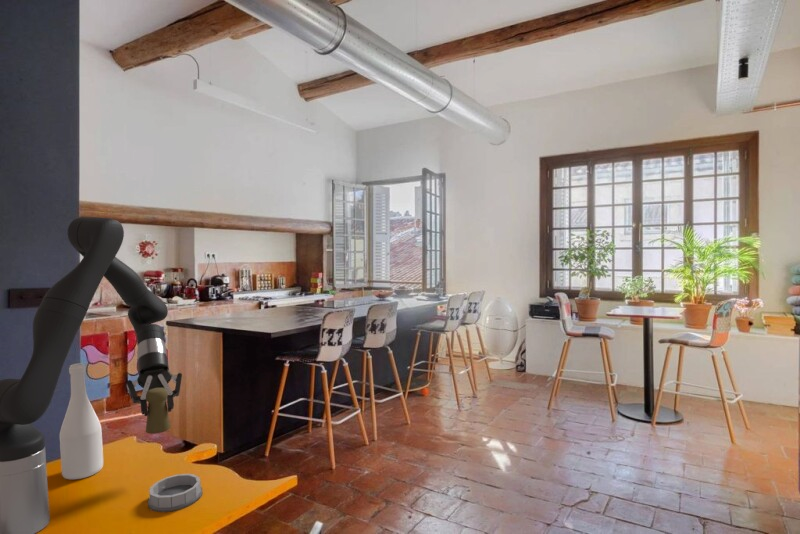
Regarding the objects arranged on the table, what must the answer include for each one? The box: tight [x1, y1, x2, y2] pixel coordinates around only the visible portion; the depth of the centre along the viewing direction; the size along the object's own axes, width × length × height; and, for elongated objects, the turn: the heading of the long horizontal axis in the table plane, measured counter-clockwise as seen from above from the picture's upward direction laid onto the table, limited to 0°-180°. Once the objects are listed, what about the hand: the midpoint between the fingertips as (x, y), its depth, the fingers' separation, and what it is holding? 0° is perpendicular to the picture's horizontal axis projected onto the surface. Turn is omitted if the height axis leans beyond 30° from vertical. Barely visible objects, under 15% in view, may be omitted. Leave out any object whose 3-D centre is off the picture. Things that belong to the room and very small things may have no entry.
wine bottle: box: [59, 362, 104, 480], centre depth 129 cm, size 10×10×30 cm
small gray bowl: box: [147, 473, 203, 513], centre depth 116 cm, size 12×12×3 cm
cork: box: [145, 388, 172, 435], centre depth 127 cm, size 6×6×11 cm
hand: (158, 412), depth 125 cm, fingers closed on cork, 5 cm apart
